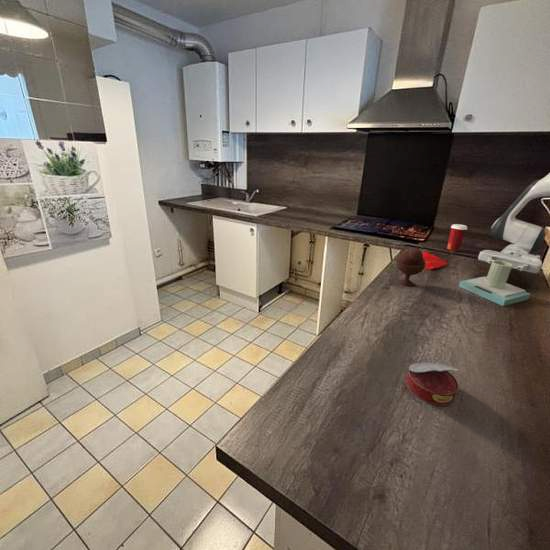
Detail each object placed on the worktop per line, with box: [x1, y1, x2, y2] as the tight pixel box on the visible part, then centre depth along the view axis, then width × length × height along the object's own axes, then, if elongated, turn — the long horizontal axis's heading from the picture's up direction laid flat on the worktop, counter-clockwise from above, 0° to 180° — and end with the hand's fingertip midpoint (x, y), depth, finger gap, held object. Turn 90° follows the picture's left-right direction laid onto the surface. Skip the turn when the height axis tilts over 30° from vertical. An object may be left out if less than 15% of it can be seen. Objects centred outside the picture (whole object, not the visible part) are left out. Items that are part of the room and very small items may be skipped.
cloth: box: [422, 251, 448, 271], centre depth 142 cm, size 26×14×2 cm, turn 149°
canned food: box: [405, 361, 460, 406], centre depth 64 cm, size 11×10×10 cm
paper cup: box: [446, 223, 468, 251], centre depth 158 cm, size 8×8×14 cm
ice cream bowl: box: [395, 248, 426, 287], centre depth 115 cm, size 11×11×15 cm
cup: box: [485, 260, 513, 289], centre depth 109 cm, size 6×6×9 cm
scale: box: [458, 275, 531, 307], centre depth 112 cm, size 17×15×3 cm
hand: (504, 265), depth 113 cm, fingers open, 8 cm apart
